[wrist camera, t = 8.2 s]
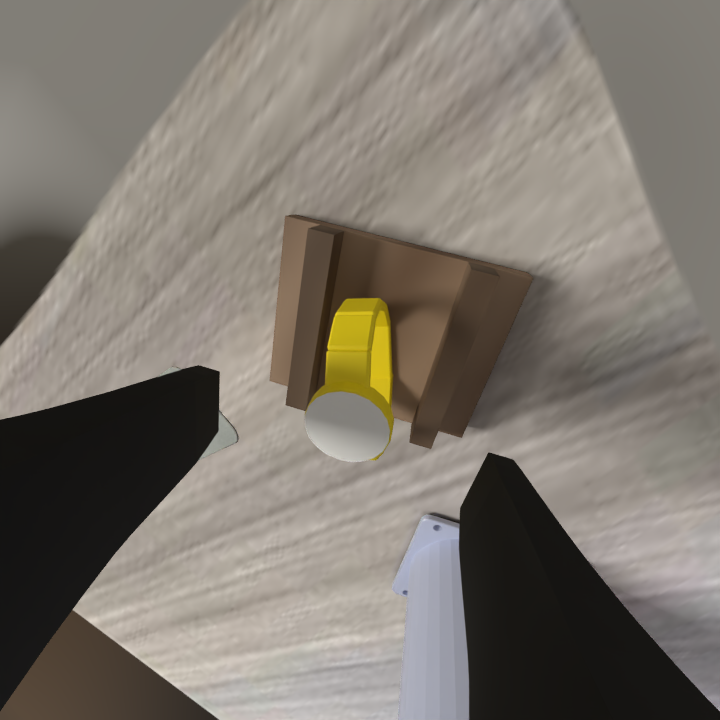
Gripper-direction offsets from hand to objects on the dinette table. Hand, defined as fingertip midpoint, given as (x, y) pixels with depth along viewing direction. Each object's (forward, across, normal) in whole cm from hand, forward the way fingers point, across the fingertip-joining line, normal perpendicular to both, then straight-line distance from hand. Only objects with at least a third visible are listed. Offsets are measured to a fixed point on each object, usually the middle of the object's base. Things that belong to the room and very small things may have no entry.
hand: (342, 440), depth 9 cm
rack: (+8, 0, 0) cm, 8 cm away
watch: (+7, 0, +1) cm, 7 cm away
